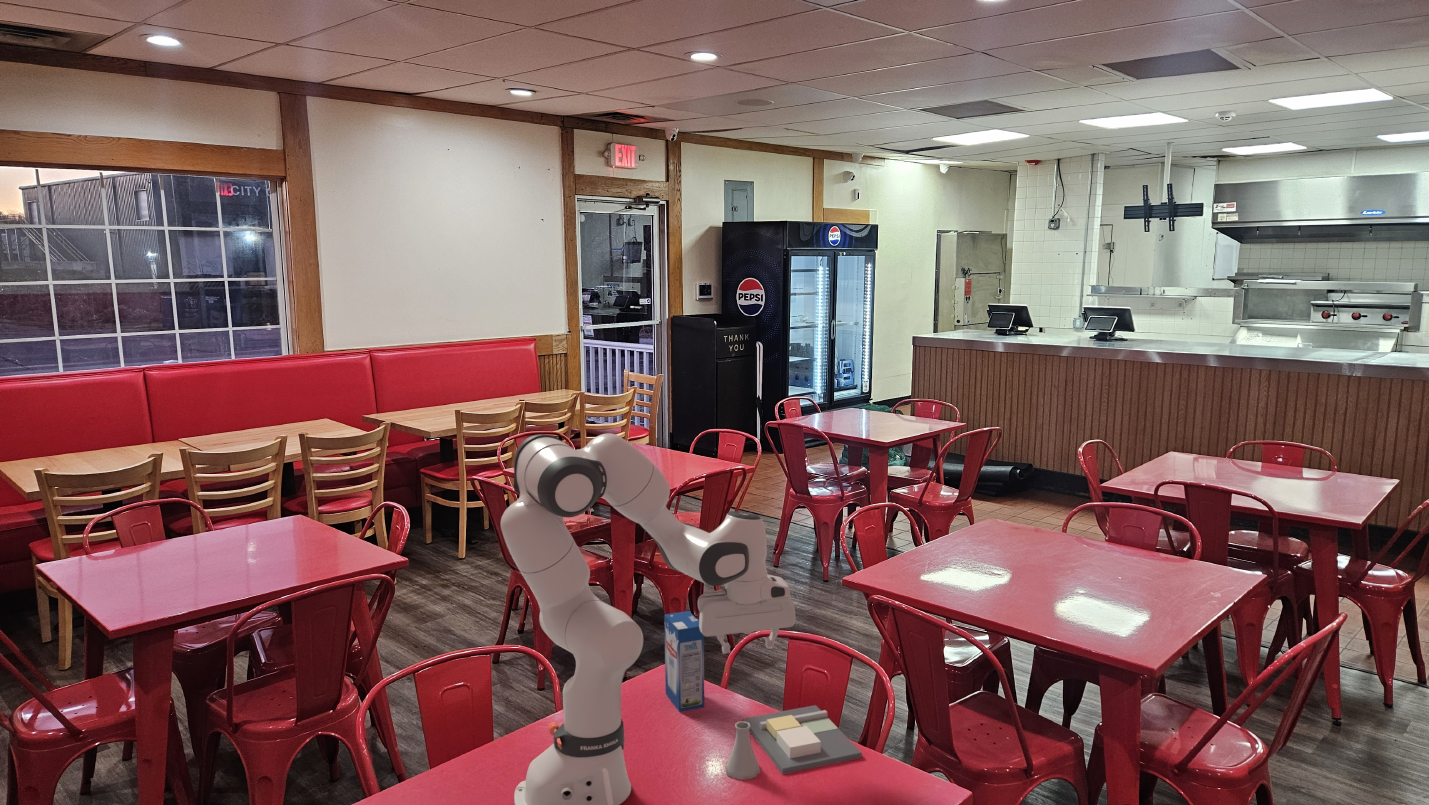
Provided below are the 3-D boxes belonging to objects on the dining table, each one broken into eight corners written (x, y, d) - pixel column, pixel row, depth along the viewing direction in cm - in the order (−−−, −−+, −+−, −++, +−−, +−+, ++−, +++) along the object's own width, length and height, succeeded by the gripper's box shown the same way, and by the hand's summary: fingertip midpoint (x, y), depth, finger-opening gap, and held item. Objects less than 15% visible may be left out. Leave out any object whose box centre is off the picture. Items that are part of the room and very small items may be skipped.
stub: (775, 739, 195) (775, 730, 194) (766, 728, 199) (766, 719, 199) (801, 734, 196) (801, 725, 196) (791, 723, 201) (791, 714, 201)
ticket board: (782, 774, 184) (782, 757, 183) (743, 723, 204) (743, 708, 204) (861, 757, 190) (861, 741, 189) (815, 710, 210) (815, 695, 210)
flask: (757, 782, 181) (757, 735, 180) (722, 778, 183) (721, 732, 181) (763, 763, 188) (763, 718, 187) (728, 759, 190) (728, 714, 188)
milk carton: (704, 707, 212) (703, 625, 209) (679, 712, 210) (678, 629, 207) (689, 689, 221) (688, 610, 218) (665, 693, 219) (664, 614, 216)
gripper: (700, 598, 184) (702, 662, 186) (797, 587, 188) (798, 650, 190) (694, 587, 190) (696, 649, 193) (788, 577, 194) (789, 638, 197)
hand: (748, 649), depth 192 cm, fingers open, 8 cm apart
